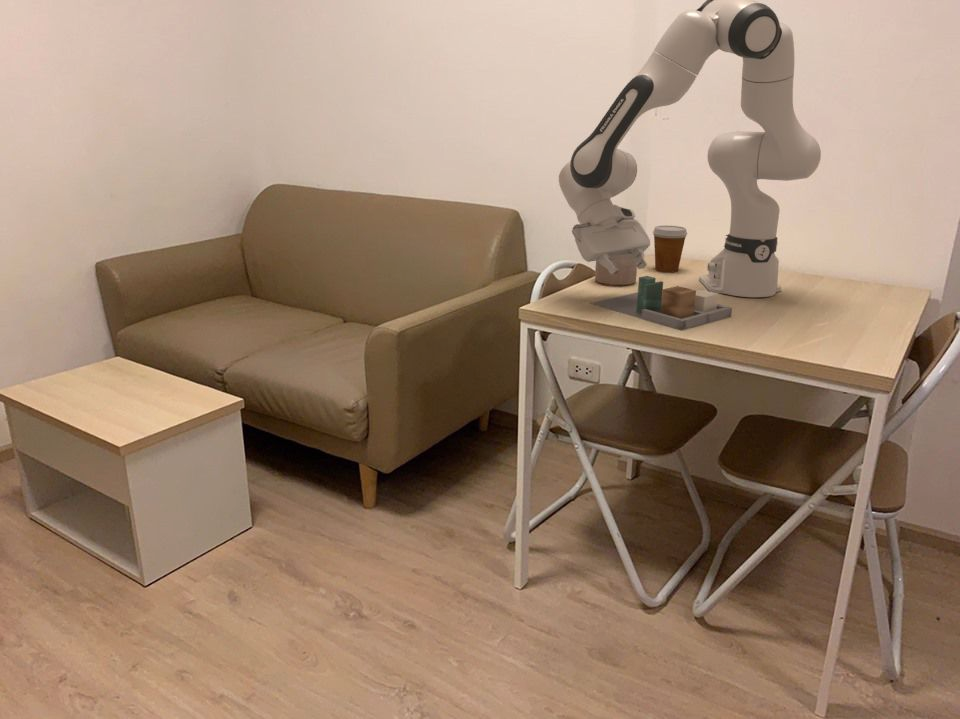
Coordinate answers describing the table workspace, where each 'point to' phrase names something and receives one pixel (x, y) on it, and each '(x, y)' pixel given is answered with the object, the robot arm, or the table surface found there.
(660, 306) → the toy blocks
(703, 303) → the cream block
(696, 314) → the board
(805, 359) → the table surface
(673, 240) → the disposable coffee cup
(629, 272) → the planter
